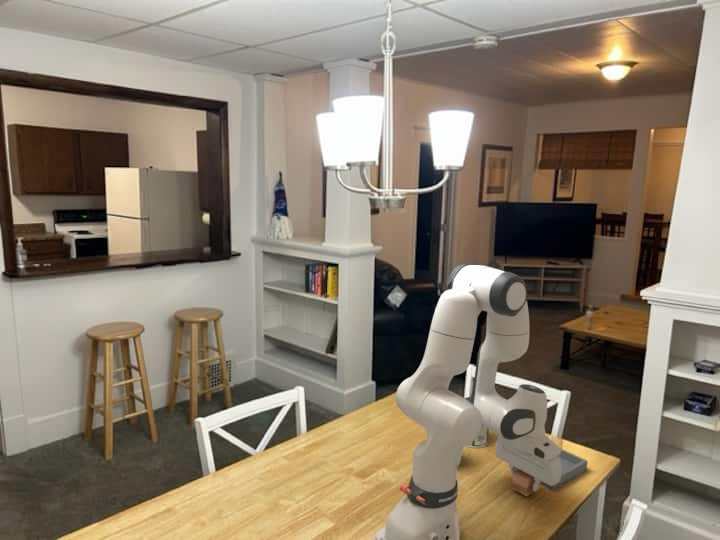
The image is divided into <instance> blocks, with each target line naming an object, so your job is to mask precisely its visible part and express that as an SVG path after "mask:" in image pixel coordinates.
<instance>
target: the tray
mask: <svg viewBox="0 0 720 540" xmlns="http://www.w3.org/2000/svg"><path fill="white" fill-rule="evenodd" d="M560 449H561V453H560V454H559V455H558V457H559V458H560V461H561V480H560V481H559V482H558V483H557V484H555V485H553V486H550V485H548V484H546V483H544V482H543V481H541V482H540V483H539V485H541V486H544V487H545V488H547V489H549V490H550V491H552V492H555V491H557V490H558V489H560V488H561V487H563V486H565V485H567V483H570V482H571V481H573V480H575V479H576V478H578V477H579V476H582V475H583V474H584V473H586V472H587V471H588V460H587V459H585V458H582V457H580V456H579V455H576V454H574V453H571V452H569V451H567V450H564V449H563V448H560ZM516 469H517V470H519V469H518V468H516Z"/></svg>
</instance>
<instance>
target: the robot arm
mask: <svg viewBox="0 0 720 540" xmlns="http://www.w3.org/2000/svg"><path fill="white" fill-rule="evenodd" d="M527 299H528V289H527V285H526V283H525V280H524V279H523V278H522V277H520V276H519V275H518V274H515V273H514V272H510V271H504V270H501V269H499V268H494V267H491V266H487V265H479V264H477V265H476V264H473V263H464V264H459V265H457V266H455V267H454V269H452V271H451V273H450V274H449V277H448V279H447V282H446V289H445V291H444V292H443V293H441V295H440V297H439V299H438V301H437V304H436V306H435V309H434V313H433V316H432V320H431V324H430V328H429V333H428V338H427V342H426V347H425V350H424V354H423V358H422V360H421V362H420V365H419V367H418V368H417V370H416V371H415V372H414V373H413V374H412V375H411V376H410V377H407V378H406V379H404V380H403V381H402V382H401V383H400V385H398V388H397V390H396V394H395V403H396V406H397V407H398V408H399V410H400V411H401V412H402V413H403V414H404V415H405V416H406V417H407V418H408V419H409V420H411V421H413V422H414V423H416V424H418V425H420V426H421V427H422V428H424V429H425V431H426V434H427V435H426V436H427V437H426V439H425V440H423V441H421V442H419V444H418V445H417V446H415V448H414V450H413V454H412V456H413V457H412V475H411V478H410V480H409V482H408V485H407V484H406V483H405V482H403V483H401V484H399V485H400V486H399V489H398V490H399V491H400V492H402V493H403V494H405V495H404V496H403V497H402V498H401V499H400V501H398V503H397V504H396V506H394V508H393V509H392V510H391V512H390V513H389V514H388V515H387V517H386V521H385V526H383V527H382V528H381V529H380V530H378V531H377V532H376V533H375V540H461V539H460V538H461V529H460V525H459V517H458V508H457V507H458V506H457V498H458V492H459V490H458V486H459V485H458V480H457V471H458V470H457V469H458V467H457V462H458V456H459V453H460V450H461V449H462V447H463V448H464V447H466V446H465V445H468V444H470V443H472V442H473V441H474V440H475V439H476V438H477V437H478V435H479V434H480V431H481V428H482V425H484V426H486V427H487V428H489V430H491V432H493V433H495V434H497V440H496V444H495V448H494V449H495V450H494V454H495V456H496V458H497V459H499V460H501V461H503V462H505V463H506V464H508V467H509V470H510V473H511V478H512V477H513V472H515V471H517V469H516V468H518V469H520V470H522V471H524V472H526V473H527V474H529V475H531V476H533V477H534V480H535V481H536V482H533V483H531V485H530V486H531V487H530V489H532V490H534V491H535V492H537V491H538V490H539V485H540V484H539V483H540V482H541V481H543V482H544V483H546V484H548V485H550V486H553V485H555V484H557V483H558V482H559V481H560V480H561V461H560V458H559V457H558V455H559V454H560V453H561V449H562V448H561V449H560V446H559V445H558V444H557V443H555V442H554V441H553V440H551V438H549V437H548V436H547V435H546V429H545V425H546V421H547V416H548V399H547V398H548V397H547V393H546V392H545V391H544V390H543V389H542V388H540V387H538V386H535V385H532V384H526V383H525V384H524V383H523V384H519V385H518V388H517V390H516V392H515V393H514V394H513V396H512V397H510V398H508V399H506V398H504V397H502V396H501V395H500V394H499V393H498V392H497V390H496V387H495V386H496V377H497V372H498V366H499V364H500V363H507V362H508V363H509V362H513V361H516V360H518V359H520V358H521V357H522V356H523V355H525V353H526V352H527V351H528V348H529V344H530V315H529V314H530V313H529V312H530V311H529V307H528V305H529V304H528V301H527ZM482 311H483V312H486V313H487V315H486V332H485V333H486V334H485V340H484V341H483V342H481V344H480V346H479V349H478V352H477V358H476V362H475V363H476V365H475V370H474V380H473V387H472V391H471V394H470V396H469V397H470V400H469V401H468V400H467V399H465V398H466V397H463V396H461V395H459V394H456V393H455V392H453V391H451V390H449V387H450V383H451V381H452V380H453V378H454V377H455V376H458V375H460V374H463V373H465V371H467V369H468V368H469V366H470V363H471V358H472V353H473V347H474V342H475V338H476V333H477V325H478V317H479V315H480V314H481V312H482ZM536 490H537V491H536Z"/></svg>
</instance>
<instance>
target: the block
mask: <svg viewBox="0 0 720 540" xmlns="http://www.w3.org/2000/svg"><path fill="white" fill-rule="evenodd" d="M533 482H536V481H535V480H534V477H533V476H531V475H529V474H527V473H526V472H524V471H522V470H520V469H519V470H517V471H515V472H513V477H512V476H511V489H512V490H514V491H515V492H517V493H520V494H522V495H523V496H525V497H527V496H529V495H531V494H534V493H535V492H537V491H538V490H536V491H534V490H532V489H530V487H531V486H530V485H531V483H533Z"/></svg>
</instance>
